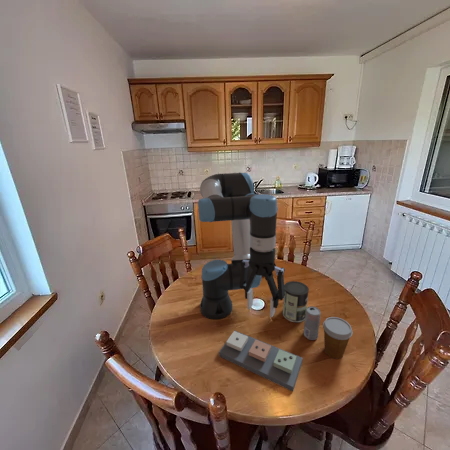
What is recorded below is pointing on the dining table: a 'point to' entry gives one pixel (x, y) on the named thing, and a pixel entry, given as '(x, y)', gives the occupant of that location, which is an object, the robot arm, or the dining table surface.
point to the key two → (260, 350)
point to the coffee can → (295, 301)
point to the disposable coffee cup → (336, 336)
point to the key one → (237, 341)
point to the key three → (285, 361)
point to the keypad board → (262, 364)
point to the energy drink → (312, 323)
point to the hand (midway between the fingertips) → (261, 310)
